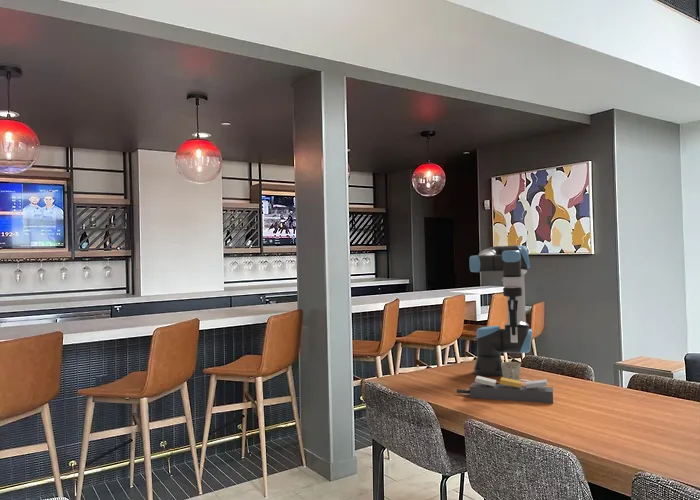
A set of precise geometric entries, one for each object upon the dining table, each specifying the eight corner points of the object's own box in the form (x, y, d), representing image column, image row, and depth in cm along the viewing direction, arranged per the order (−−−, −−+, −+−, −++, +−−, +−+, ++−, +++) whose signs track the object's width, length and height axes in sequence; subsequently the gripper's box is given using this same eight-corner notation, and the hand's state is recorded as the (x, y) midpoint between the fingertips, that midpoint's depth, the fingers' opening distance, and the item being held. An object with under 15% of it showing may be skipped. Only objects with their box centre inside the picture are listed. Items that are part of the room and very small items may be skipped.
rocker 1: (476, 379, 223) (477, 375, 223) (495, 383, 220) (496, 380, 220) (474, 381, 218) (475, 378, 218) (494, 386, 216) (495, 382, 216)
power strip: (458, 392, 227) (458, 379, 227) (553, 398, 213) (552, 385, 214) (455, 396, 220) (455, 383, 220) (553, 403, 206) (552, 389, 206)
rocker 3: (527, 385, 216) (526, 381, 216) (547, 383, 213) (546, 379, 213) (526, 388, 211) (525, 384, 211) (547, 385, 208) (546, 381, 208)
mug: (518, 383, 240) (518, 361, 241) (525, 390, 228) (524, 367, 228) (500, 383, 241) (499, 361, 241) (505, 390, 229) (504, 367, 229)
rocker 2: (501, 380, 220) (501, 377, 219) (521, 385, 217) (521, 381, 217) (499, 383, 215) (500, 379, 215) (520, 387, 212) (520, 383, 212)
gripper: (504, 285, 231) (506, 339, 232) (501, 288, 219) (503, 344, 219) (522, 285, 229) (524, 339, 229) (520, 288, 217) (522, 345, 217)
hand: (514, 342), depth 224 cm, fingers closed
